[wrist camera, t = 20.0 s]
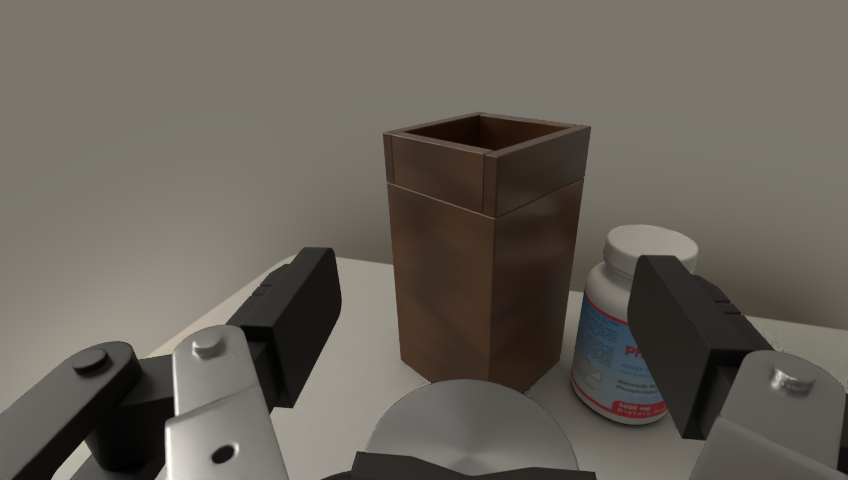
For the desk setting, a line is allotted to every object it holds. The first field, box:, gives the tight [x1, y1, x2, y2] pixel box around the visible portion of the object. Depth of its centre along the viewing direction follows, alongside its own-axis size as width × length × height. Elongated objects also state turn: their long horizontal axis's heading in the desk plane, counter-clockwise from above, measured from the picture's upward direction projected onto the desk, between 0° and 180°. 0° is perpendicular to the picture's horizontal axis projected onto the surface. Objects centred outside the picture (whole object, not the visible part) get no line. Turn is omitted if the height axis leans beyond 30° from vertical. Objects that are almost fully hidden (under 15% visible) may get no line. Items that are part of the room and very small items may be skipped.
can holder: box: [383, 112, 591, 394], centre depth 28 cm, size 8×8×17 cm
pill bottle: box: [571, 225, 698, 425], centre depth 26 cm, size 6×6×11 cm
